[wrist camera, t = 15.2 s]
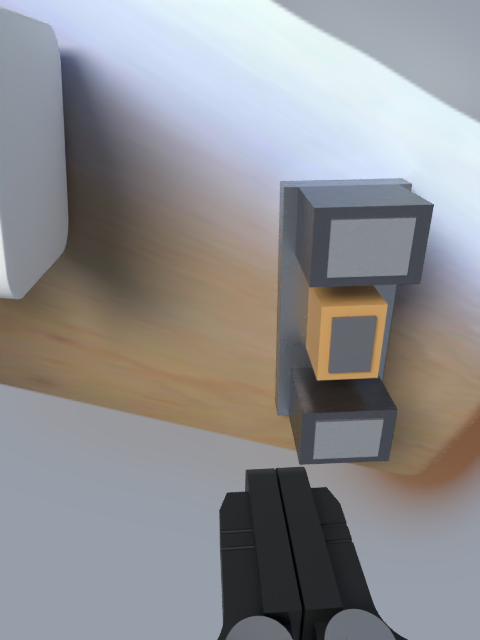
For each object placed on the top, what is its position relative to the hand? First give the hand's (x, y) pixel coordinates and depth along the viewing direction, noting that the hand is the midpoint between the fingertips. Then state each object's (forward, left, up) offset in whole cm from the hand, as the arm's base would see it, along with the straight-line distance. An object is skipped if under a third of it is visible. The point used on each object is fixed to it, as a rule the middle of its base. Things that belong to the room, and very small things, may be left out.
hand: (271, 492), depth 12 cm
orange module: (+8, -7, -24) cm, 26 cm away
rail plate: (+8, -7, -26) cm, 28 cm away
